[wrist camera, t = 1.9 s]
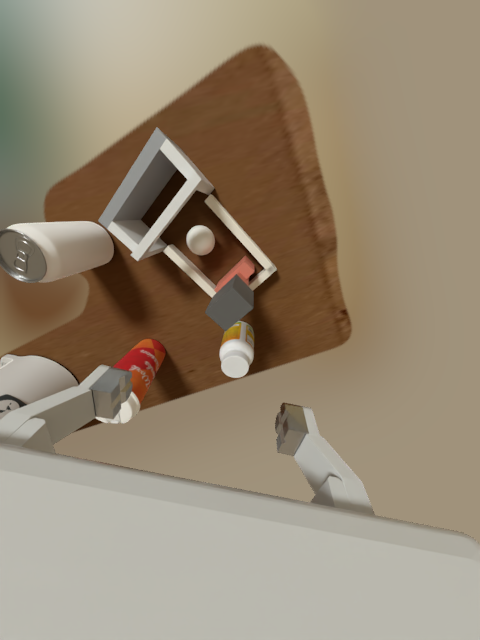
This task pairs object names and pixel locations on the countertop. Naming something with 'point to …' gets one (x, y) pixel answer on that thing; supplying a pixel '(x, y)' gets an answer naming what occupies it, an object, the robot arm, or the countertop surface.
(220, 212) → the white flat open frame
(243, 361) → the supplement bottle
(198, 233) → the ball
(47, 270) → the can
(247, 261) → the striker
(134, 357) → the paper cup
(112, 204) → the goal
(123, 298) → the countertop surface
